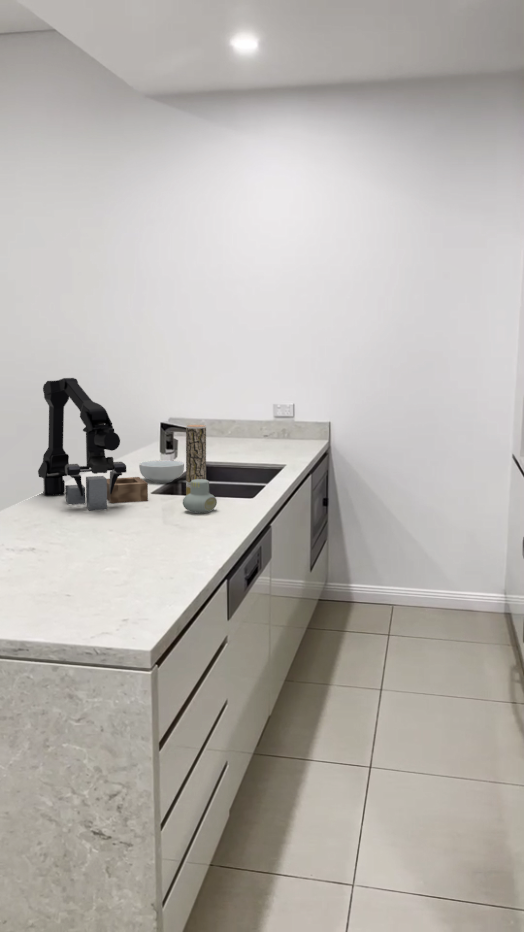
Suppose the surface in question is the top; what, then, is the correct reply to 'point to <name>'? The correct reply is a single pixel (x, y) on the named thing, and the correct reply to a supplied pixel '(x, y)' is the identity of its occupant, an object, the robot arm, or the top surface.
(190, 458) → the bark textured wooden post
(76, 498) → the gray cube
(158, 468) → the cereal bowl
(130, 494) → the brown wooden open box
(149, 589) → the top surface
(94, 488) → the grey rectangular block
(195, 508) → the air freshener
